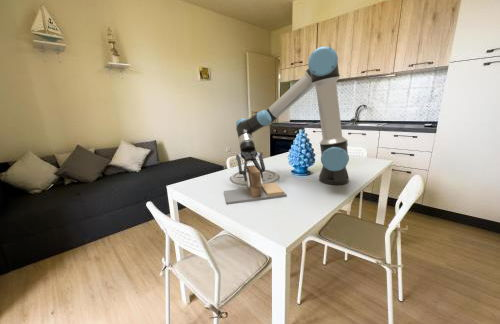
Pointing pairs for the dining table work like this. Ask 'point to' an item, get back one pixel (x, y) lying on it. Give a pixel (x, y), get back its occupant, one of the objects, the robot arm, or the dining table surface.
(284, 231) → the dining table surface
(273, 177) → the wall clock
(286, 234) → the dining table surface
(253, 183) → the brown wooden square block
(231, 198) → the underlay board
